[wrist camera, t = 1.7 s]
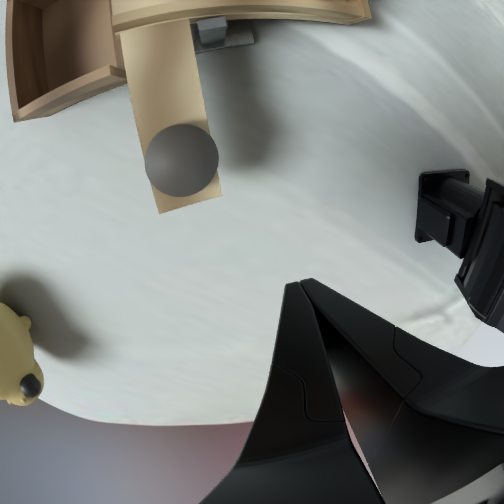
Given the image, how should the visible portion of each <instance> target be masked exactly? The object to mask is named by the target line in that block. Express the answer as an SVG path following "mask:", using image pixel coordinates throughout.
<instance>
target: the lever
mask: <svg viewBox="0 0 504 504" xmlns="http://www.w3.org/2000/svg"><path fill="white" fill-rule="evenodd" d="M111 3H112V14H113V15H112V25H113V29H114V32H115V36H116V40H118V39H121V45H122V52H123V58H124V64H125V70H126V76H127V82H128V87H129V92H130V97H131V102H132V107H133V112H134V117H135V122H136V126H137V131H138V135H139V139H140V143H141V148H142V152H143V156H144V160H145V170H146V173H147V176H148V178H149V180H150V183H151V187H152V190H153V194H154V197H155V201H156V204H157V208H158V211H159V214H161V213H165V212H168V211H171V210H174V209H178V208H181V207H184V206H187V205H191V204H194V203H198V202H201V201H205V200H208V199H212V198H215V197H219V196H222V191H221V187H220V182H219V177H218V172H217V167H218V161H219V156H218V150H217V147H216V144H215V142H214V141H213V139H212V138H211V136H210V132H209V126H208V121H207V116H206V111H205V106H204V100H203V95H202V90H201V84H200V79H199V74H198V68H197V63H196V57H195V52H194V46H193V40H192V35H191V29H190V24H194V23H197V21H200V20H206V19H211V18H218V17H224V16H225V19H226V20H235V19H298V20H312V21H322V22H331V23H339V24H346V25H350V24H354V23H357V22H361V21H364V20H368V19H372V16H371V12H370V7H369V3H368V0H111Z"/></svg>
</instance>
